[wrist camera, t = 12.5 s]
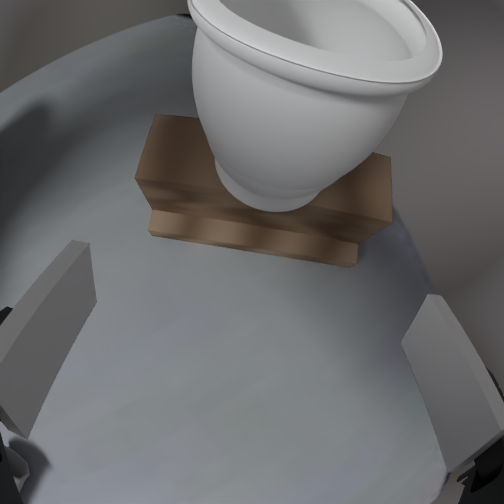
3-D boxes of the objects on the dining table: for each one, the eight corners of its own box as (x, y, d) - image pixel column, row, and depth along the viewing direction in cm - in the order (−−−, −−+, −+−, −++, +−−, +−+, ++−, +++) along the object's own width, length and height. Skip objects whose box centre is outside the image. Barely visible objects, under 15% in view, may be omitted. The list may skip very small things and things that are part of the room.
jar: (172, 173, 22) (126, -1, 8) (252, 89, 25) (277, -65, 10) (293, 257, 22) (410, 141, 7) (358, 156, 24) (458, 24, 10)
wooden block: (152, 235, 30) (127, 202, 22) (174, 148, 33) (162, 96, 24) (349, 267, 32) (392, 246, 23) (353, 179, 34) (389, 138, 25)
